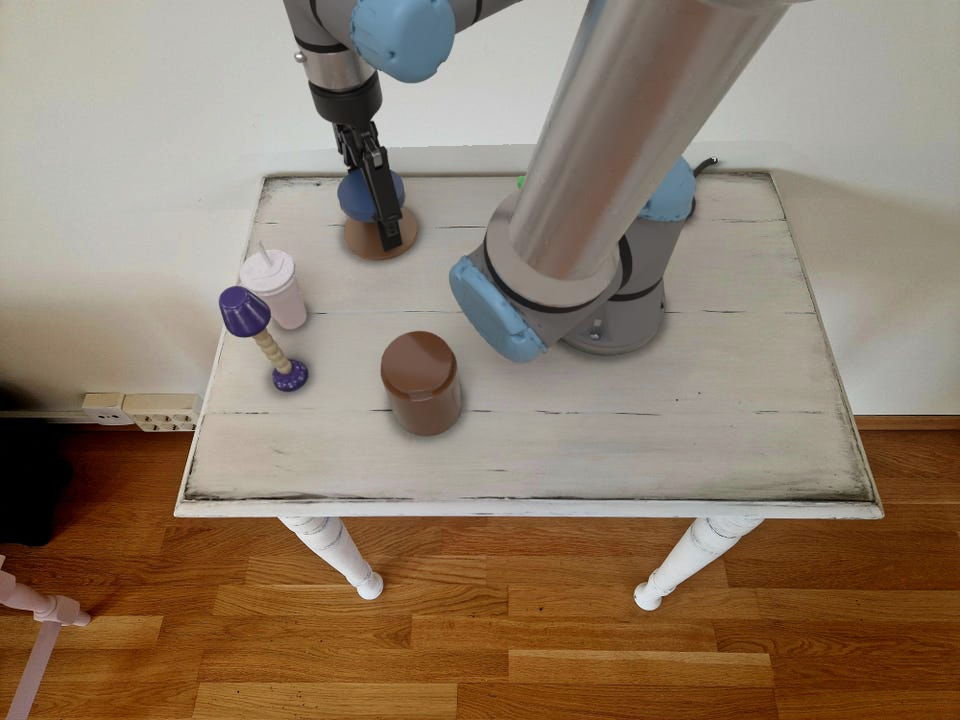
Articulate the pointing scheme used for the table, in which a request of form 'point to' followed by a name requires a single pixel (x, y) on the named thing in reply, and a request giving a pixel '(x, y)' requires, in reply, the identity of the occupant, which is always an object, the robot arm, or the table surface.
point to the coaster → (367, 240)
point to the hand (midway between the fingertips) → (379, 224)
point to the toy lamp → (260, 334)
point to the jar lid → (362, 196)
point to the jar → (422, 383)
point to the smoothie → (275, 285)
